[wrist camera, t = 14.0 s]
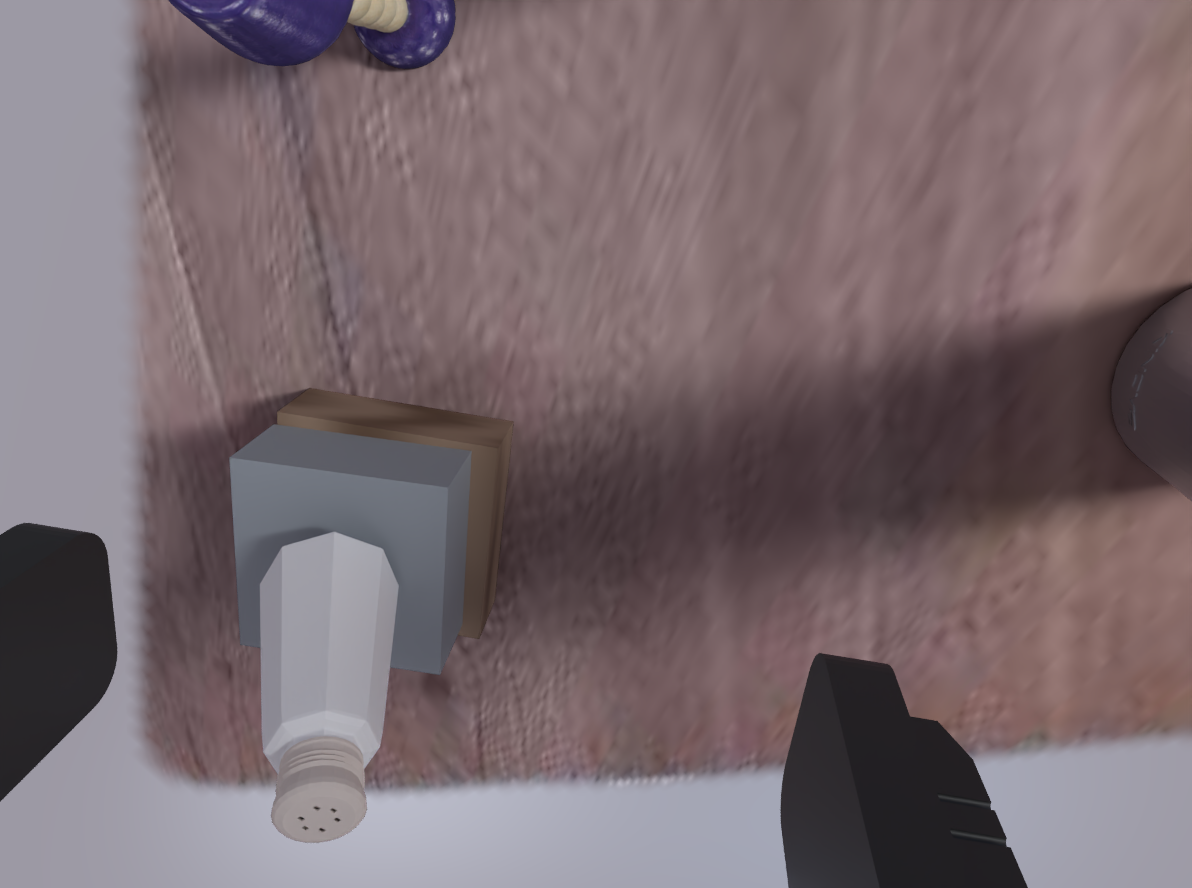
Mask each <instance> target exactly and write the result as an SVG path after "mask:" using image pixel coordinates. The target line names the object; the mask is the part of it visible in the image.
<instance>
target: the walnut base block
mask: <svg viewBox="0 0 1192 888" xmlns="http://www.w3.org/2000/svg"><path fill="white" fill-rule="evenodd" d="M513 423H514V422H513V421H507V420H501V419H495V418H489V417H483V416H477V415H471V414H464V413H458V412H452V411H446V410H440V409H434V408H428V407H422V406H416V405H410V404H404V403H397V402H391V401H385V400H379V399H373V398H367V397H361V396H355V395H349V394H343V393H337V392H330V391H324V390H318V389H312V388H309V389H308V390H306V391H305V392H304V393H302V394H301V395H300V396H298V397H297V398H295V399H294V400H293V401H291V402H290V403H289V404H287V405H286V406H285V407H283V408H282V409H280V410H279V411H278V412H277V425H283V426H291V427H298V428H306V429H313V430H320V431H328V432H335V433H343V434H350V435H357V436H365V437H372V438H380V439H387V440H394V441H402V442H409V443H416V444H424V445H431V446H439V447H446V448H453V449H461V450H468V451H472V454H471V473H470V492H469V510H468V529H467V548H466V567H465V586H464V604H463V623H462V626H461V629H460V631H459V633H458V635H459V636H465V637H470V638H476V639H479V638H480V636H481V633H482V631H483V628H484V626H485V623H486V621H487V618H488V616H489V614H490V611H491V609H492V606H493V604H494V601H495V593H496V584H497V574H498V565H499V555H500V546H501V536H502V527H503V518H504V508H505V499H506V489H507V480H508V470H509V461H510V451H511V442H512V432H513Z"/></svg>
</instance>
